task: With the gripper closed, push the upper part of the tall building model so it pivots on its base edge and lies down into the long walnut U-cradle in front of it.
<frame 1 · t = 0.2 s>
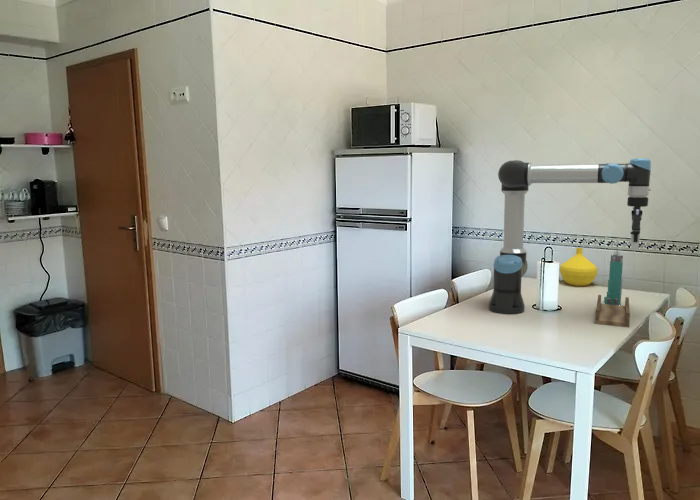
hand: (634, 247, 228), 28 cm above the table, fingers open, 13 cm apart
cradle: (612, 316, 228), on the table
building: (612, 305, 246), on the table
vase: (577, 284, 289), on the table
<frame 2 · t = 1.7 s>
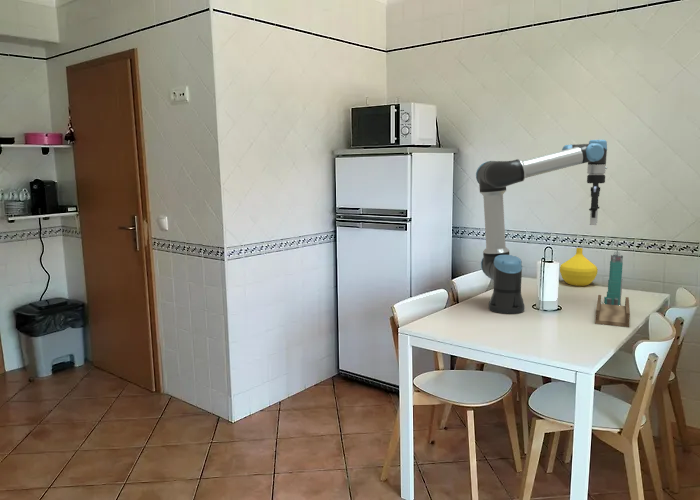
hand: (593, 223, 252), 35 cm above the table, fingers open, 9 cm apart
nothing on the table moved.
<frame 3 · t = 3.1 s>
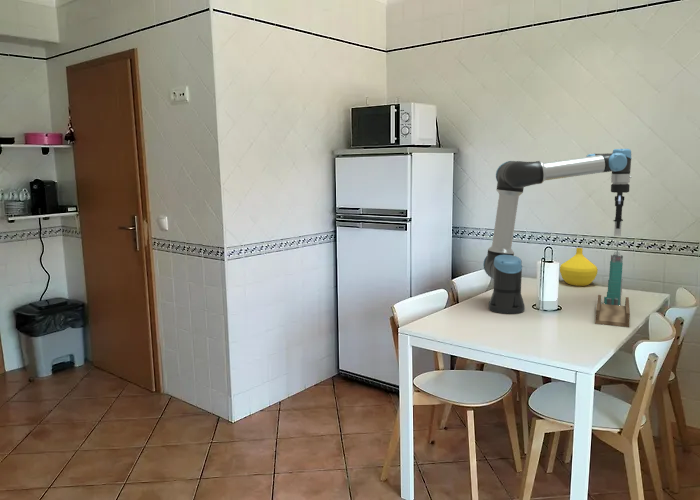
hand: (617, 235, 250), 30 cm above the table, fingers closed
nothing on the table moved.
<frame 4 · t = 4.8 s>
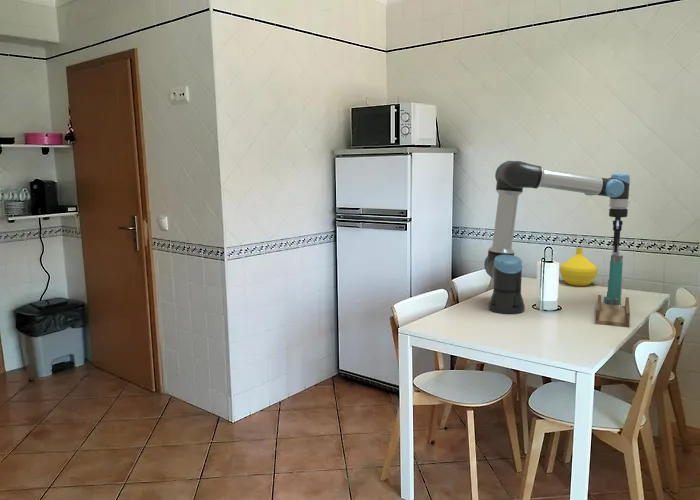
hand: (615, 259, 251), 19 cm above the table, fingers closed
nothing on the table moved.
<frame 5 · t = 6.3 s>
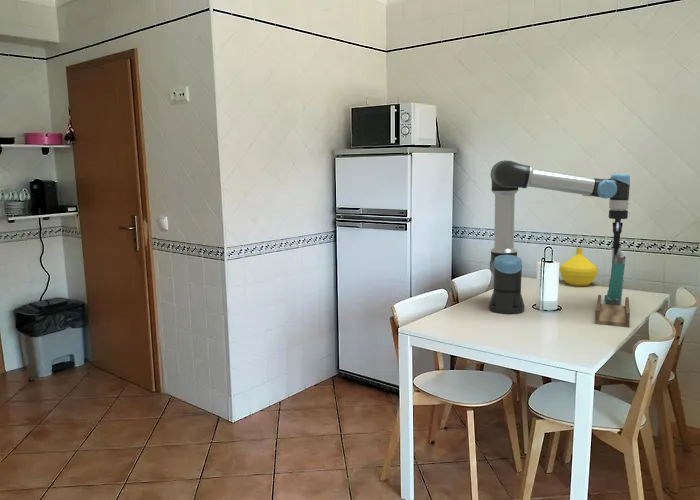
hand: (615, 262, 244), 19 cm above the table, fingers closed
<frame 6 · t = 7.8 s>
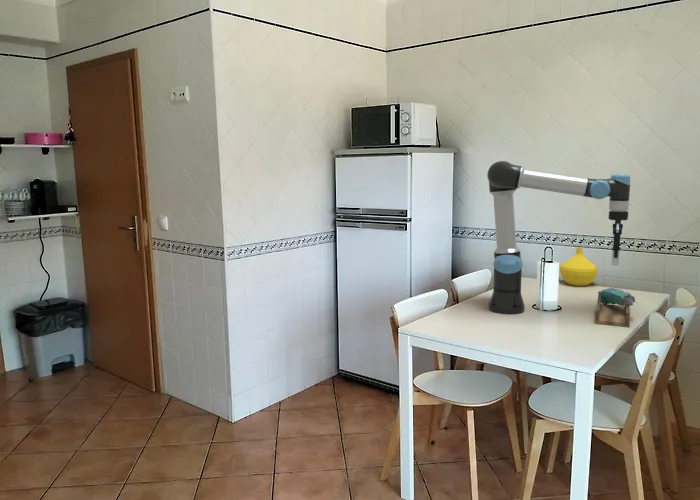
hand: (615, 264, 238), 19 cm above the table, fingers closed
building: (606, 295, 244), point 5 cm above the table, touching cradle
everything else where it was.
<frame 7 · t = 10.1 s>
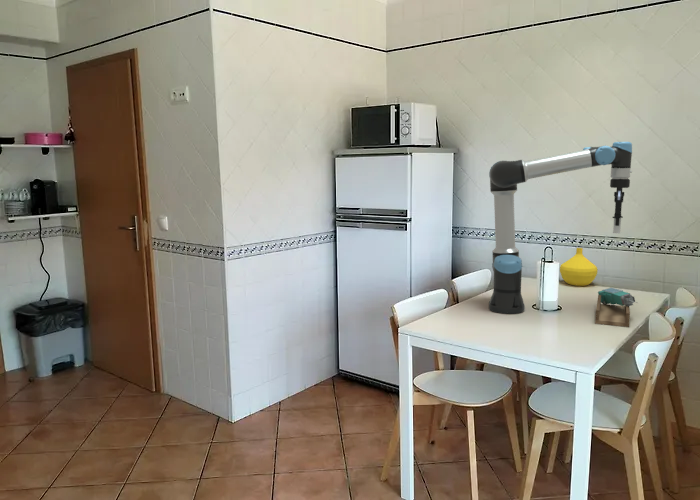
hand: (616, 232, 239), 33 cm above the table, fingers closed
nothing on the table moved.
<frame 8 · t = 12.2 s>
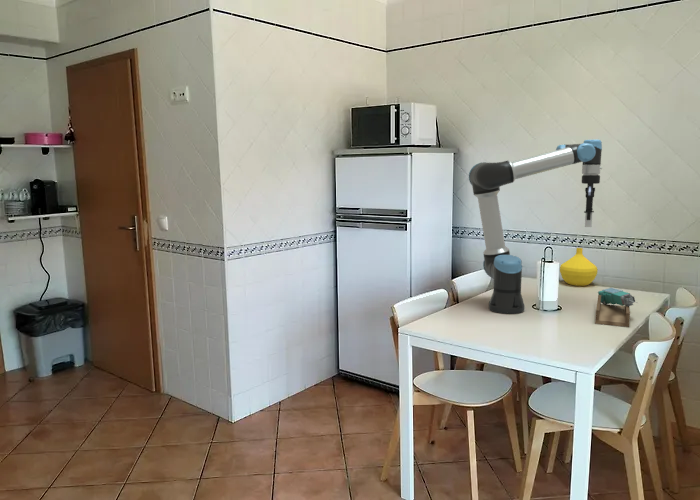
hand: (588, 226, 249), 34 cm above the table, fingers closed
nothing on the table moved.
at the end: building tilted 83°; building inside the target area (6.4 cm from its centre), point 4.5 cm above the table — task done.
